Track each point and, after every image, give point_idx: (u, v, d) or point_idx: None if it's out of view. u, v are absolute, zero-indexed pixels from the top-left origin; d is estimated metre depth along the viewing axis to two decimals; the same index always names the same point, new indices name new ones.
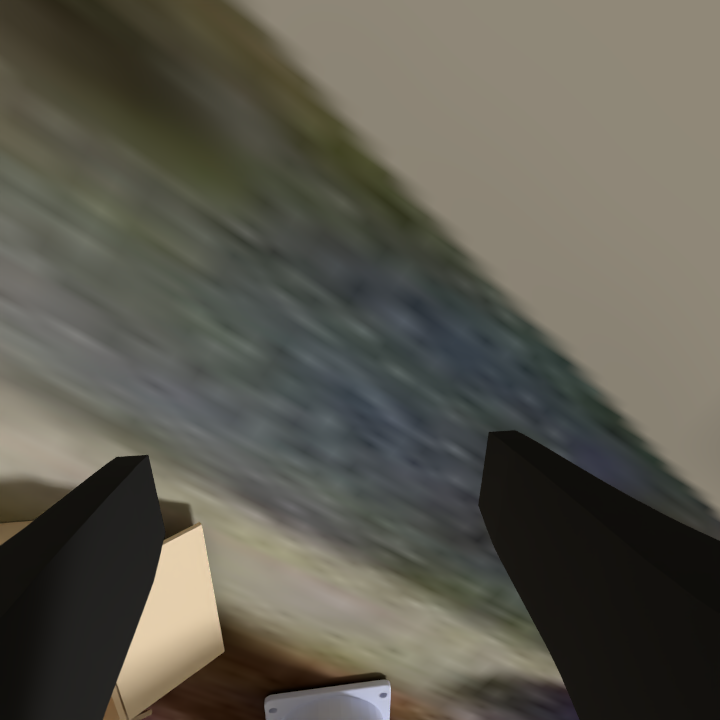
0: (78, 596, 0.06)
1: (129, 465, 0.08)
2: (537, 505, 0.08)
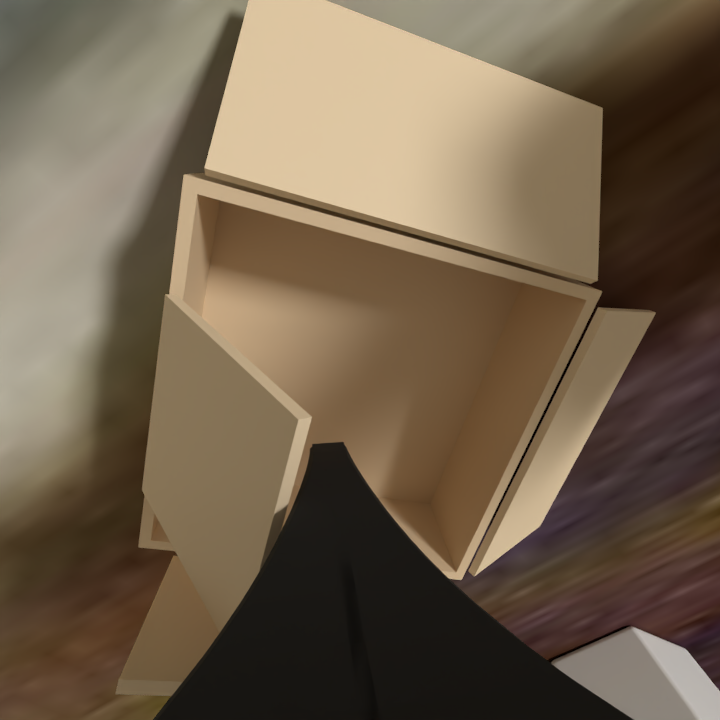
0: None
1: (339, 450, 0.09)
2: None
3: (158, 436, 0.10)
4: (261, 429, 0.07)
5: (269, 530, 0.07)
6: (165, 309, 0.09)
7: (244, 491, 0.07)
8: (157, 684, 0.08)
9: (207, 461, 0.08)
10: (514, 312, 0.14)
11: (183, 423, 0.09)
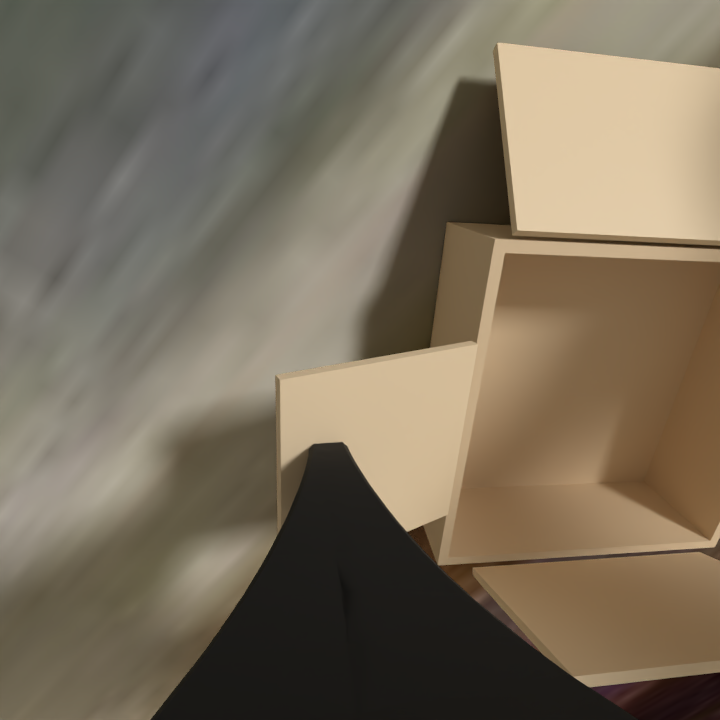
0: None
1: (338, 451, 0.09)
2: None
3: (435, 456, 0.12)
4: None
5: None
6: (469, 354, 0.11)
7: None
8: (602, 676, 0.09)
9: None
10: None
11: None
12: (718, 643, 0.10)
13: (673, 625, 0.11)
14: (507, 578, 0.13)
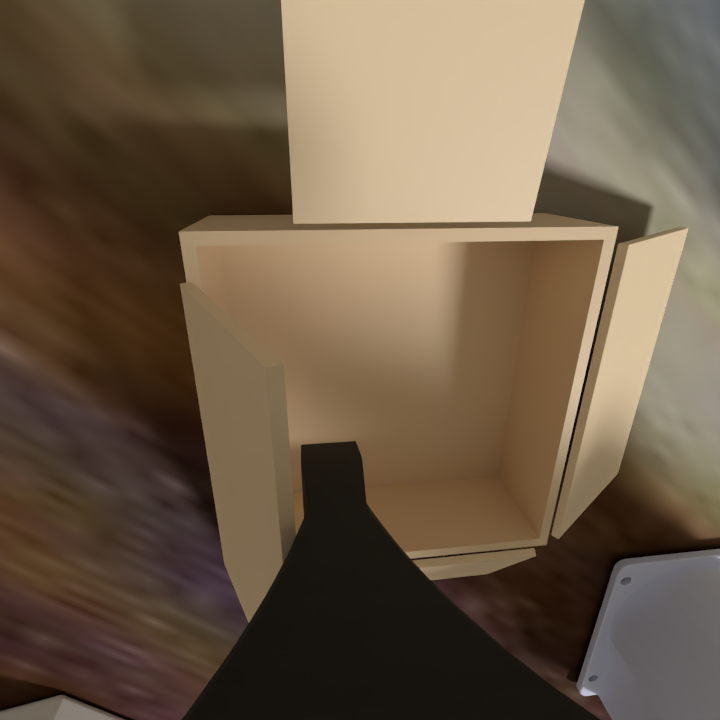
0: None
1: (352, 449, 0.09)
2: None
3: (388, 192, 0.09)
4: None
5: None
6: (512, 218, 0.10)
7: None
8: (282, 408, 0.06)
9: None
10: (468, 482, 0.17)
11: None
12: None
13: None
14: None
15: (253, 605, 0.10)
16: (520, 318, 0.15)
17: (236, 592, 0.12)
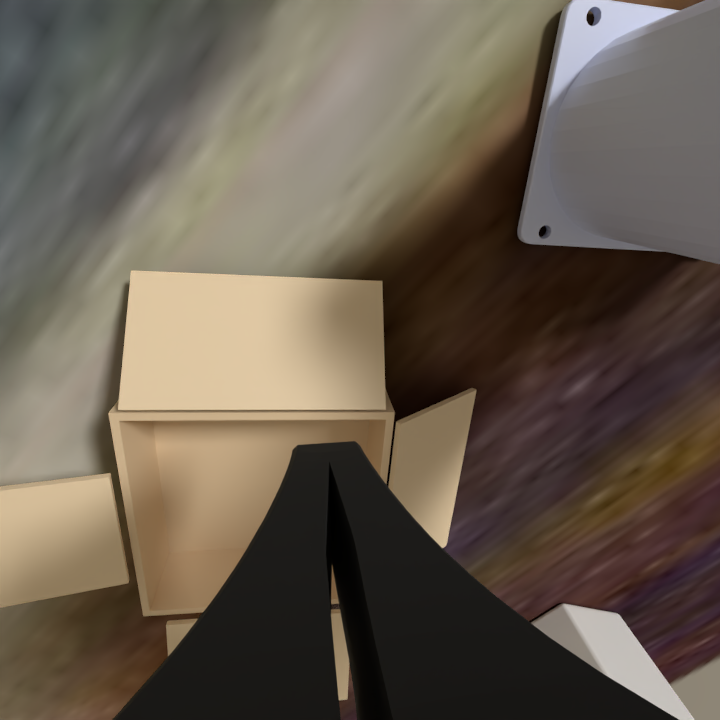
0: (327, 571, 0.07)
1: (320, 452, 0.09)
2: (339, 523, 0.07)
3: (106, 543, 0.17)
4: None
5: None
6: (111, 481, 0.16)
7: None
8: None
9: None
10: None
11: None
12: None
13: None
14: None
15: None
16: None
17: None
